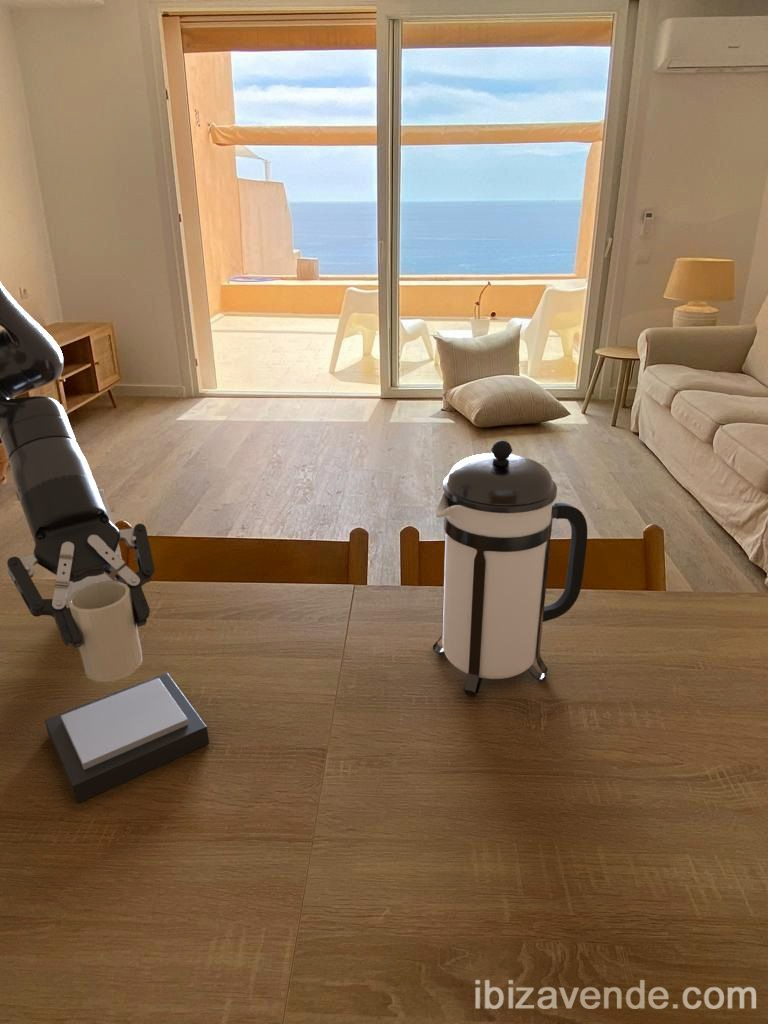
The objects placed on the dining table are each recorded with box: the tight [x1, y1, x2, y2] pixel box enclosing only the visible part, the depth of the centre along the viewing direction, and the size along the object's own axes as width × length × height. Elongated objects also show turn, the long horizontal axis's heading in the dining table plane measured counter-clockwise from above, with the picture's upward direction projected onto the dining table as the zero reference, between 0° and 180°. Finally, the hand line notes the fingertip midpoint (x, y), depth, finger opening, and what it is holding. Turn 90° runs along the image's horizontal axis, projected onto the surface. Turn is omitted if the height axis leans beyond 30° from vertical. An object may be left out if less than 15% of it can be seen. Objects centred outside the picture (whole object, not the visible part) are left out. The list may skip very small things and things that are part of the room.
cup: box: [66, 581, 144, 683], centre depth 71 cm, size 6×6×8 cm
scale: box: [44, 672, 210, 805], centre depth 76 cm, size 14×12×3 cm
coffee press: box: [432, 439, 588, 697], centre depth 84 cm, size 17×16×30 cm
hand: (110, 634), depth 70 cm, fingers closed on cup, 6 cm apart
